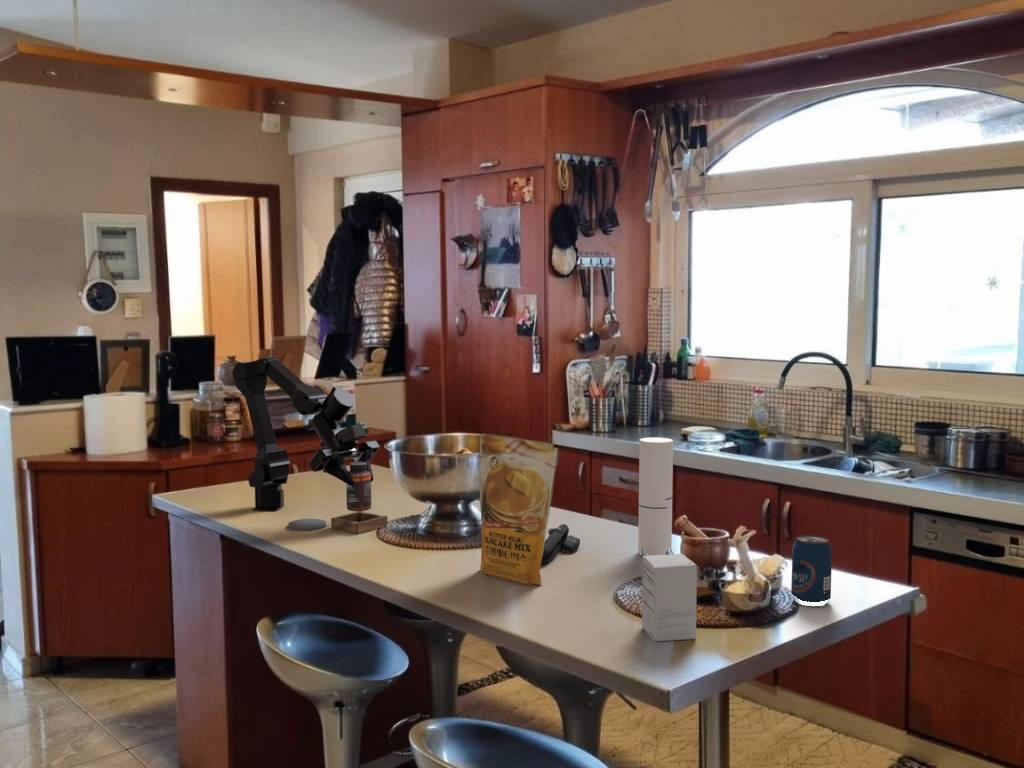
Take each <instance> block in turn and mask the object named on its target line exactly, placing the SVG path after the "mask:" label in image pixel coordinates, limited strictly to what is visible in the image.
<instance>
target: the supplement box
mask: <svg viewBox="0 0 1024 768" xmlns="http://www.w3.org/2000/svg"><path fill="white" fill-rule="evenodd" d="M641 557H642V559H641V561H642V563H641V564H642V565H641V567H642V568H641V569H642V570H641V571H642V573H641V575H642V580H641V581H642V586H641V588H642V589H641V591H642V593H641V594H642V595H641V596H642V597H641V627H642V628H643V630H644V631H645V632H646V633H647V635H648V636H650V638H651V639H652V640H653V641H654V643H655V642H656V643H657V642H665V641H680V640H683V641H684V640H696V638H697V583H698V582H697V580H698V578H697V577H698V575H697V573H698V571H697V570H698V566H697V564H696V563H694V561H692V560H691V559H689V558H688V557H687V556H685V555H684V554H683V553H675V554H674V553H673V554H672V553H671V554H670V555H651V556H641Z"/></svg>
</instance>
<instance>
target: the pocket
mask: <svg viewBox="0 0 1024 768" xmlns="http://www.w3.org/2000/svg"><path fill="white" fill-rule="evenodd" d="M330 521H331V524H330V525H331V526H330V527H331V529H332V530H337V531H342V532H347V533H350V534H351V533H352V534H357V535H361V534H364V533H368V532H372V531H376V529H377V530H379V529H378V528H380V527H382V526H386V525H388V516H387V515H383V514H377V513H371V512H366V511H353V512H351V513H347V514H343V515H338V516H335V517H331V518H330ZM388 526H389V525H388ZM380 529H381V528H380Z"/></svg>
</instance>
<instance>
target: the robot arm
mask: <svg viewBox="0 0 1024 768" xmlns="http://www.w3.org/2000/svg"><path fill="white" fill-rule="evenodd" d="M231 373H232V377H233V378H232V379H233V382H234V384H235V386H236V388H237V390H238V391H239V392H240V393H241V394H242V395H243V397H244V399H245V401H246V407H247V410H248V415H249V418H250V423H251V426H252V431H253V434H254V435H253V436H254V439H255V444H256V448H257V451H256V454H255V458H254V470H253V472H251V474H250V476H249V477H248V478H247V480H248V484H249V487H251V488H254V501H255V502H254V503H255V504H254V507H253V508H252V511H268V512H269V511H275V512H276V511H278V510H280V509H282V508H283V507H285V496H284V494H285V493H284V492H285V491H284V489H282V487H283V486H282V485H286V484H287V483H288V477H289V474H290V472H291V466H290V465H291V462H290V460H289V456H288V451H287V449H281V448H280V447H279V445H278V444H277V440H276V436H275V433H274V427H273V424H272V419H271V415H270V412H269V407H268V404H267V399H266V395H265V391H266V388H267V384H268V379H270V380H271V381H272V382H273V383H275V385H277V386H278V388H280V389H281V390H282V391H284V393H285V394H286V395H287V396H289V398H290V400H291V405H292V406H293V407H294V409H295V410H296V411H297V412H298V413H299V415H301V416H312V415H314V416H313V417H312V418H310V419H308V423H307V426H306V430H307V431H314V430H315V432H316V433H317V435H318V437H319V438H320V440H321V442H320V447H321V448H320V449H318V450H317V451H316V452H315V454H314V455H313V456H312V458H310V460H309V467H310V468H311V470H312V472H313V473H316V472H323V473H324V474H328V475H330V476H332V477H335V478H336V479H338V480H340V481H342V482H343V483H345V484H346V483H347V484H348V485H350V486H353V485H354V481H353V479H352V477H351V475H350V473H349V470H348V468H347V467H346V465H345V460H348V459H353V460H354V462H365V463H367V468H366V469H367V471H369V472H370V474H371V483H372V482H374V475H373V471H372V465H371V460H372V459H373V458H374V456H375V455H376V454H377V453H378V451H379V450H380V449H381V446H380V445H379V443H378V442H377V440H367V441H362V442H361V444H360V445H359V446H358V448H355V447H356V446H357V445H358V444H359V442H358V440H361V439H364V438H366V437H367V435H368V434H369V433H370V429H369V427H368V425H367V423H366V422H365V421H359V422H358V423H355V424H353V425H349V426H346V427H342V426H341V424H340V421H342V420H344V419H345V417H347V415H348V413H349V412H350V411H351V410H352V409H353V407H354V406H355V404H356V402H357V401H356V398H355V396H354V394H352V393H351V392H349V391H348V390H346V389H344V388H342V387H341V385H336V386H333V387H331V390H330V391H329V393H328V394H326V393H325V392H324V391H323V390H321V389H319V388H318V387H316V386H313V385H310V384H306V383H305V382H304V381H303V380H301V379H300V378H299V377H298V376H297V375H296V374H294V373H293V372H292V371H291V370H290V369H289V368H288V367H286V366H285V364H283V363H282V362H281V360H280V359H279V358H278V357H276V356H268V357H267V356H266V357H261V358H259V359H256V360H253V361H241V362H237V363H236V364H235V365H234V367H233V368H232V372H231Z"/></svg>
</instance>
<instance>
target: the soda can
mask: <svg viewBox="0 0 1024 768" xmlns="http://www.w3.org/2000/svg"><path fill="white" fill-rule="evenodd" d="M791 557H792V559H791V589H790V591H791V593H792V594H793V595H794V596H796V597H797V598H798V599H800V600H802V601H807V602H808V601H809V602H820V601H825V600H828V599H830V600H831V598H832V593H831V592H832V565H833V563H832V562H833V561H832V560H833V559H832V557H833V548H832V546H831V544H830V539H829V538H828V537H826V536H822V535H818V534H801V535H800V534H799V535H797V536H796V537H795V541H794V543H793V545H792V553H791ZM791 593H790V594H791Z"/></svg>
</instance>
